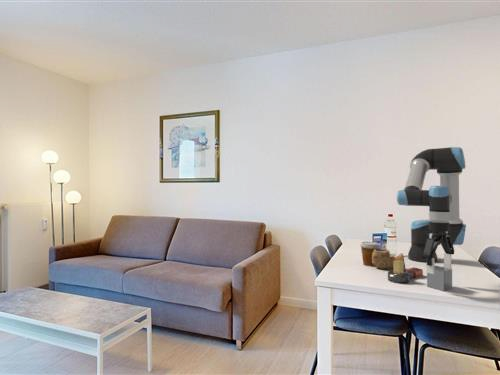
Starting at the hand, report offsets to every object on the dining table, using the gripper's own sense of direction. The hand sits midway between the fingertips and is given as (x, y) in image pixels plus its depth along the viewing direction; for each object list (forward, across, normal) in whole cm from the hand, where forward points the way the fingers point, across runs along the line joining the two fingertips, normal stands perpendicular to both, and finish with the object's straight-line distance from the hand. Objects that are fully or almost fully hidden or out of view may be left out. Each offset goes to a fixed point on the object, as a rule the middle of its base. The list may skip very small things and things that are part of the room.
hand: (439, 271), depth 129 cm
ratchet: (+7, 0, -15) cm, 17 cm away
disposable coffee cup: (+7, -6, -40) cm, 41 cm away
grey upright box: (+7, 0, 0) cm, 7 cm away
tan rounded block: (+7, -8, -29) cm, 31 cm away
